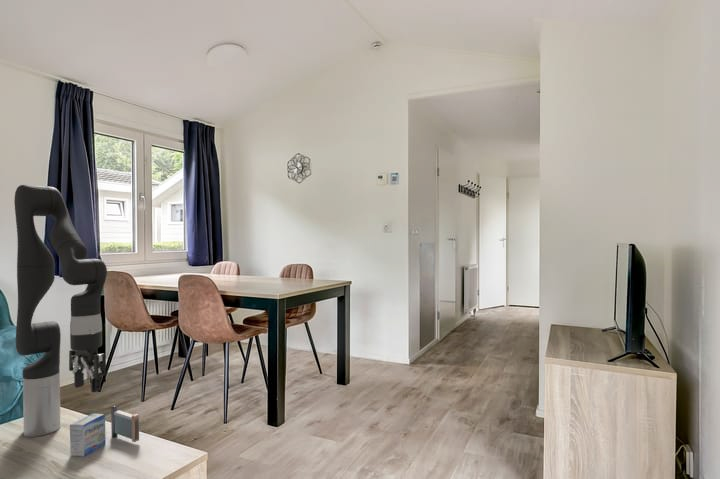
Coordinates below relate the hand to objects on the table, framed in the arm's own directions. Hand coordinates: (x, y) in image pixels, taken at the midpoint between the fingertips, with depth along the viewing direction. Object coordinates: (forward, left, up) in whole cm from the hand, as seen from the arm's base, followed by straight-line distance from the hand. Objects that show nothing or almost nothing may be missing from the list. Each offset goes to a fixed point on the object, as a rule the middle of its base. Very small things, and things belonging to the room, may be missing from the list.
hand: (87, 389), depth 122 cm
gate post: (-2, +9, -17) cm, 19 cm away
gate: (+4, +8, -16) cm, 19 cm away
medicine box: (0, 0, -17) cm, 17 cm away
